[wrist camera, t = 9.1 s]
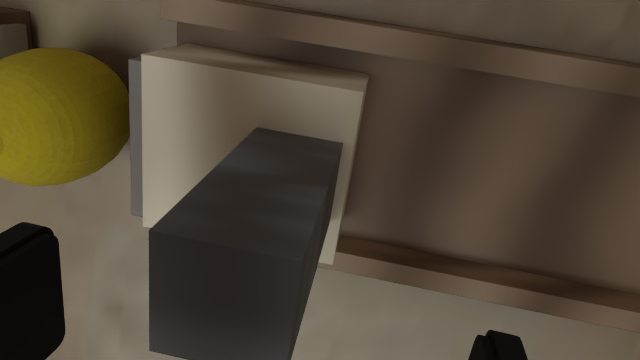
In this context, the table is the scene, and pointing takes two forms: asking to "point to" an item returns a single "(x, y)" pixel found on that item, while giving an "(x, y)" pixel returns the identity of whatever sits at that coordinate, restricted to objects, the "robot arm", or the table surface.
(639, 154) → the press bed
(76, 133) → the lemon
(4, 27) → the open brown box
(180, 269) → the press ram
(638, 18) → the table surface
